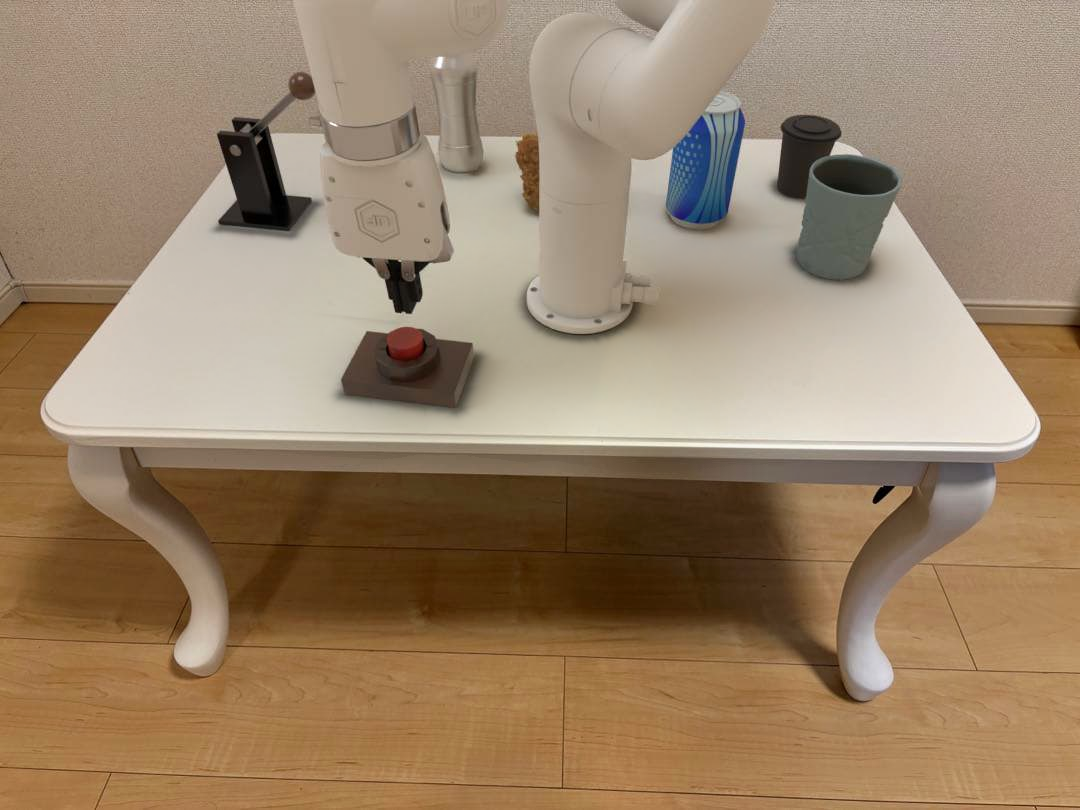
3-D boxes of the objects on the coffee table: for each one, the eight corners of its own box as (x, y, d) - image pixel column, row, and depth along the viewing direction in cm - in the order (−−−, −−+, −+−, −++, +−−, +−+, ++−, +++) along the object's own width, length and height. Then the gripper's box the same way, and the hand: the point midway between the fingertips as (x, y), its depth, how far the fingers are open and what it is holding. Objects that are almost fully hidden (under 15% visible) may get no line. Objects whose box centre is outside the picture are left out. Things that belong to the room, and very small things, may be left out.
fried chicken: (618, 223, 103) (625, 129, 94) (514, 223, 103) (511, 130, 94) (613, 187, 111) (620, 96, 101) (516, 187, 111) (513, 96, 101)
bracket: (313, 204, 107) (292, 115, 98) (290, 235, 102) (265, 143, 93) (246, 198, 108) (219, 110, 99) (220, 228, 103) (189, 137, 94)
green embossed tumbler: (886, 277, 94) (919, 189, 86) (812, 289, 93) (839, 200, 84) (843, 234, 101) (870, 148, 93) (773, 244, 100) (795, 158, 91)
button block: (474, 358, 84) (471, 329, 81) (455, 408, 78) (452, 380, 75) (369, 346, 85) (363, 317, 82) (344, 394, 80) (337, 366, 77)
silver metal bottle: (478, 180, 112) (468, 37, 98) (434, 176, 113) (418, 33, 99) (489, 160, 116) (481, 20, 102) (446, 156, 117) (433, 17, 103)
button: (428, 341, 80) (426, 328, 79) (418, 363, 78) (416, 350, 77) (395, 337, 81) (393, 324, 79) (384, 359, 78) (382, 346, 77)
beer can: (736, 228, 103) (760, 111, 91) (678, 236, 101) (695, 118, 90) (711, 197, 108) (731, 83, 97) (655, 204, 107) (669, 90, 96)
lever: (325, 84, 92) (305, 61, 90) (315, 95, 90) (294, 72, 88) (255, 150, 100) (235, 130, 98) (244, 161, 98) (223, 141, 96)
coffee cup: (755, 182, 111) (769, 115, 104) (800, 170, 114) (817, 104, 107) (790, 208, 106) (808, 139, 99) (836, 195, 109) (857, 127, 102)
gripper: (268, 145, 61) (323, 322, 74) (448, 155, 59) (472, 336, 72) (304, 104, 66) (349, 276, 79) (471, 111, 64) (489, 288, 77)
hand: (407, 304), depth 76 cm, fingers closed
